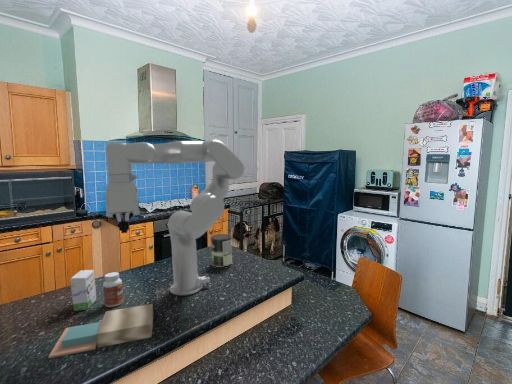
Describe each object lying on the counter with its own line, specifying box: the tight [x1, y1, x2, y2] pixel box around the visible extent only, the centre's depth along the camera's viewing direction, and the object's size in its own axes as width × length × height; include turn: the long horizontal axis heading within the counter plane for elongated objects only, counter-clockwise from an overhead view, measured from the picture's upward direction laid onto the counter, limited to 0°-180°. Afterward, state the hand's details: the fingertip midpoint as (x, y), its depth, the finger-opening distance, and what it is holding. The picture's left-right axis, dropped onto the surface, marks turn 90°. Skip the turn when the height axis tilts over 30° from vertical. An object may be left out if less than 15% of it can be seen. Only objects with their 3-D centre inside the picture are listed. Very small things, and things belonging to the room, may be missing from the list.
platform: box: [97, 303, 154, 348], centre depth 87 cm, size 14×13×4 cm
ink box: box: [70, 269, 97, 312], centre depth 104 cm, size 8×5×12 cm, turn 10°
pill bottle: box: [102, 271, 124, 308], centre depth 104 cm, size 6×6×11 cm
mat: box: [48, 322, 98, 359], centre depth 84 cm, size 11×14×1 cm
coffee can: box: [210, 233, 233, 268], centre depth 142 cm, size 10×10×14 cm
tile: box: [62, 321, 102, 348], centre depth 83 cm, size 9×7×2 cm
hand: (124, 232), depth 99 cm, fingers closed
